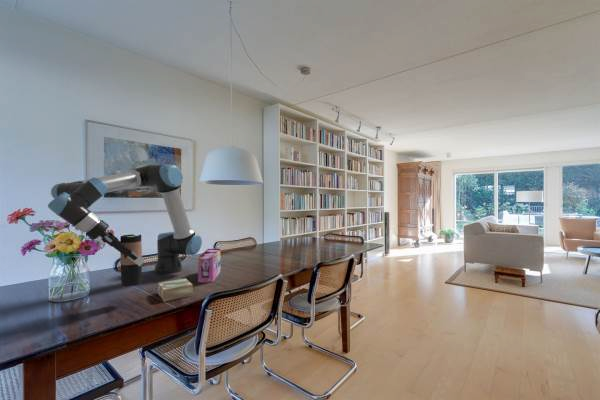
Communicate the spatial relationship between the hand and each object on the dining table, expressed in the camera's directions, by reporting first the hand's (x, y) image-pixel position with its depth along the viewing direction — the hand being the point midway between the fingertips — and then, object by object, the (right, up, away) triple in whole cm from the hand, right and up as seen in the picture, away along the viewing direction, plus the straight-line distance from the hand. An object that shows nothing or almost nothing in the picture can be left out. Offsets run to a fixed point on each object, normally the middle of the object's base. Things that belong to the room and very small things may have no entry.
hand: (140, 261), depth 119 cm
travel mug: (-3, -9, -2) cm, 9 cm away
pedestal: (+11, -17, +9) cm, 22 cm away
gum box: (+17, -17, +38) cm, 45 cm away
